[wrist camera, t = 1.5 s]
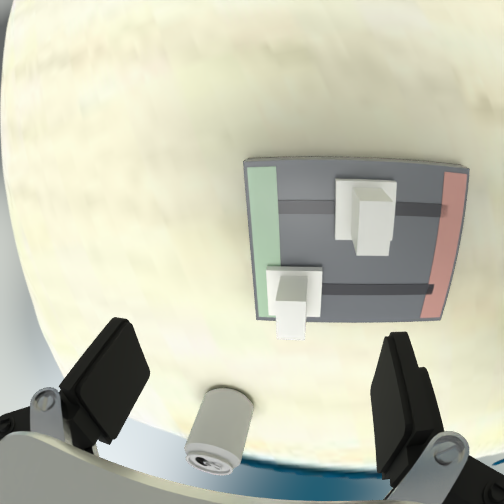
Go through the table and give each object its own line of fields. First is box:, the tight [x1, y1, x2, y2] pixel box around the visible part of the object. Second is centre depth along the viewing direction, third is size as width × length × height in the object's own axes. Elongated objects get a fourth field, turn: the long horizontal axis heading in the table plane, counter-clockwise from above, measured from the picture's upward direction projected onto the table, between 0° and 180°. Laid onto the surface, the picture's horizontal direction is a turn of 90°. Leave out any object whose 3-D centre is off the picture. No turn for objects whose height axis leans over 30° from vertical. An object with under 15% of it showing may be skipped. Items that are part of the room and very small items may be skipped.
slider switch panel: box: [243, 157, 470, 323], centre depth 27 cm, size 20×16×2 cm
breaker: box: [266, 266, 322, 340], centre depth 26 cm, size 5×5×5 cm
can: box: [184, 388, 254, 475], centre depth 36 cm, size 8×8×12 cm
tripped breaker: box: [335, 179, 397, 256], centre depth 22 cm, size 5×5×5 cm
